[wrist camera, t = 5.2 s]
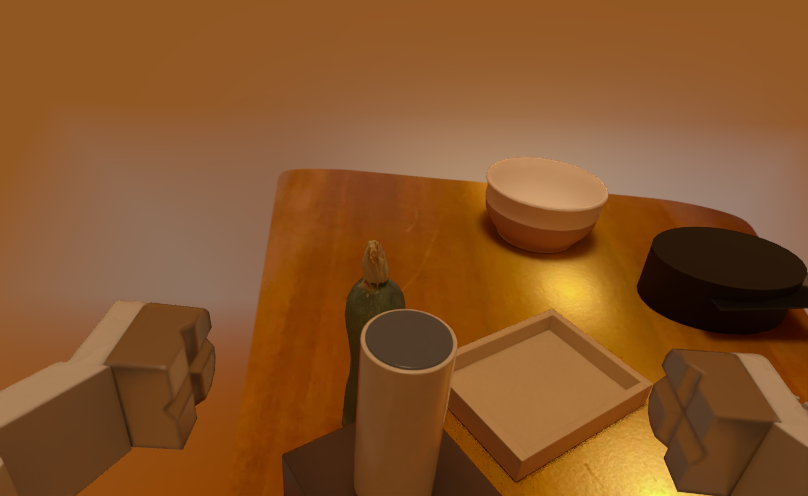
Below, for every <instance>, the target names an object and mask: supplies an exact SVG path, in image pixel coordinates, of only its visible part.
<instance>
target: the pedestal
mask: <svg viewBox="0 0 808 496" xmlns="http://www.w3.org/2000/svg"><path fill="white" fill-rule="evenodd" d="M355 429H356V422H354V423H352V424H349V425H347V426H345V427H343V428H340V429H338V430H336V431H334V432H332V433H329V434H327V435H325V436H323V437H320V438H318V439H316V440H314V441H312V442H309V443H307V444H305V445H303V446H300V447H298V448H296V449H294V450H292V451H289V452H287V453H285V454H283V455H282V461H283V482H284V496H358V495H357V494H356V491H355V489H354V485H353V467H354V448H355ZM431 496H502V495H501V494H500V493H499V492H498V491H497V490H496V488H495V487H494V486H493V485H492V484H491V483H490V482H489V480H488V479H487V478H486V477H485V476H484V475H483V474H482V472H481V471H480V470H479V469H478V468H477V467H476V466H475V464H474V463H473V462H472V461H471V460H470V459H469V457H468V456H467V455H466V454H465V453H464V452H463V451H462V449H461V448H460V447H459V446H458V445H457V444H456V443H455V441H454V440H453V439H452V438H451V437H450V436H449V435H448V433H447V432H446V431H445V430H443V436H442V442H441V448H440V454H439V459H438V465H437V471H436V477H435V483H434V488H433V492H432V494H431Z"/></svg>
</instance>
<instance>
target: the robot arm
mask: <svg viewBox="0 0 808 496" xmlns="http://www.w3.org/2000/svg"><path fill="white" fill-rule="evenodd" d="M210 329H211V321H210V315H209V312H208V311H207V310H206V309H204V308H196V307H187V306H177V305H168V304H159V303H145V302H135V301H126V300H120V301H118V302H116V303H114V304H113V305H112V306H111V307H110V309H109V310H108V311H107V313H106V314H105V315H104V316H103V318H102V319H101V320H100V321H99V323H98V324H97V325H96V327H95V328H94V329H93V331H92V332H91V333H90V334H89V336H88V337H87V338H86V339H85V341H84V342H83V343H82V344H81V346H80V347H79V348H78V350H77V351H76V352H75V353H74V355H73V356H72V357H71V359H70V360H69V361H68V362H57V363H55V364H53V365H51V366H49V367H47V368H45V369H43V370H41V371H39V372H37V373H35V374H33V375H31V376H29V377H27V378H25V379H23V380H21V381H19V382H17V383H15V384H13V385H11V386H9V387H7V388H5V389H3V390H1V391H0V496H76V495H77V494H78V493H79V492H81V491H82V490H83V489H84V488H86V487H87V486H88V485H89V484H90V483H92V482H93V481H94V480H95V479H97V478H98V477H99V476H100V475H101V474H103V473H104V472H105V471H106V470H108V469H109V468H110V467H111V466H112V465H114V464H115V463H116V462H117V461H119V460H120V459H121V458H122V457H123V456H125V455H126V454H127V453H128V452H130V451H131V449H132V448H131V447H146V448H162V449H163V448H164V449H180V450H183V448H184V446H185V444H186V441H187V440H188V437H189V435H190V433H191V431H192V429H193V426H194V424H195V422H196V420H197V415H196V408H195V406H196V405H197V404H199V403H200V402H202V401H203V400H205V399H206V397H207V395H208V392H209V390H210V388H211V385H212V381H213V376H214V372H215V349H214V346H213V345H212V344H211V343H210V341H209V340H208V339H207V338H206V337H207V335H208V333H209V331H210ZM662 367H663V369H664V371H665V373H666V376H665V377H663V378H662V379H660V380H659V381H657V382H656V383H655V384H654V385H653V388H652V391H651V394H650V396H649V406H648V415H649V421H650V425H651V428H652V431H653V433H654V436H655V437H656V438H657V439H658V440H659V441H660V442H662V443H663V444H664V445H665V446H666V447H667V448H668V450H667V452H666V454H665V456H664V460H665V463H666V465H667V467H668V470H669V472H670V475H671V477H672V480H673V482H674V484H675V487H676V489H677V492H686V493H695V494H704V495H712V496H808V414H807V413H806V412H805V410H804V409H803V408H802V406H801V405H800V403H799V402H798V401H797V399H796V398H795V396H794V395H793V394H792V392H791V391H790V390H789V388H788V387H787V385H786V384H785V383H784V381H783V380H782V378H781V377H780V376H779V374H778V373H777V372H776V370H775V369H774V367H773V366H772V365H771V363H770V362H769V361H768V359H766V358H765V357H763V356H762V355H760V354H746V353H721V352H709V351H696V350H684V349H672V350H671V351H670V352H669V353H668V354H667V355H666V357H665V359H664V361H663V364H662Z"/></svg>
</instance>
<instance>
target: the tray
mask: <svg viewBox="0 0 808 496" xmlns="http://www.w3.org/2000/svg"><path fill="white" fill-rule="evenodd" d="M652 385H653V384H652V383H651V382H649V381H648V380H647V379H645V378H644V377H643V376H641V375H640V374H639V373H637V372H636V371H635V370H633V369H632V368H631V367H630V366H628V365H627V364H626V363H624V362H623V361H622V360H620V359H619V358H618V357H616V356H615V355H614V354H612V353H611V352H610V351H608V350H607V349H606V348H604V347H603V346H602V345H600V344H599V343H598V342H596V341H595V340H594V339H592V338H591V337H590V336H588V335H587V334H586V333H584V332H583V331H582V330H580V329H579V328H578V327H576V326H575V325H574V324H572V323H571V322H570V321H568V320H567V319H566V318H564V317H563V316H562V315H560V314H559V313H558V312H556V311H555V310H554V309H551V310H548V311H546V312H544V313H541V314H539V315H536V316H534V317H532V318H529V319H527V320H525V321H522V322H520V323H517V324H515V325H513V326H510V327H508V328H505V329H503V330H501V331H498V332H496V333H494V334H491V335H489V336H486V337H484V338H482V339H479V340H477V341H474V342H472V343H470V344H467V345H465V346H463V347H460V348H458V349H457V355H456V360H455V366H454V372H453V378H452V384H451V390H450V395H449V401H448V408H449V409H450V410H451V412H452V413H453V414H454V415H455V416H456V417H457V418H458V419H459V420H460V421H461V423H462V424H463V425H464V426H465V427H466V428H467V429H468V430H469V431H470V432H471V433H472V435H473V436H474V437H475V438H476V439H477V440H478V441H479V442H480V443H481V444H482V446H483V447H484V448H485V449H486V450H487V451H488V452H489V453H490V454H491V455H492V457H493V458H494V459H495V460H496V461H497V462H498V463H499V464H500V465H501V466H502V467H503V469H504V470H505V471H506V472H507V473H508V474H509V475H510V476H511V477H512V478H513V480H514V481H515V482H517V481H519V480H520V479H522V478H524V477H525V476H527V475H529V474H530V473H532V472H533V471H535V470H537V469H538V468H540V467H542V466H543V465H545V464H547V463H548V462H550V461H552V460H553V459H555V458H556V457H558V456H560V455H561V454H563V453H565V452H566V451H568V450H570V449H571V448H573V447H574V446H576V445H578V444H579V443H581V442H583V441H584V440H586V439H588V438H589V437H591V436H592V435H594V434H596V433H597V432H599V431H601V430H602V429H604V428H606V427H607V426H609V425H610V424H612V423H614V422H615V421H617V420H619V419H620V418H622V417H624V416H625V415H627V414H629V413H630V412H632V411H633V410H635V409H637V408H638V407H640V406H642V405H643V404H645V402H646V399H647V397H648V394H649V392H650V390H651V387H652Z"/></svg>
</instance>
